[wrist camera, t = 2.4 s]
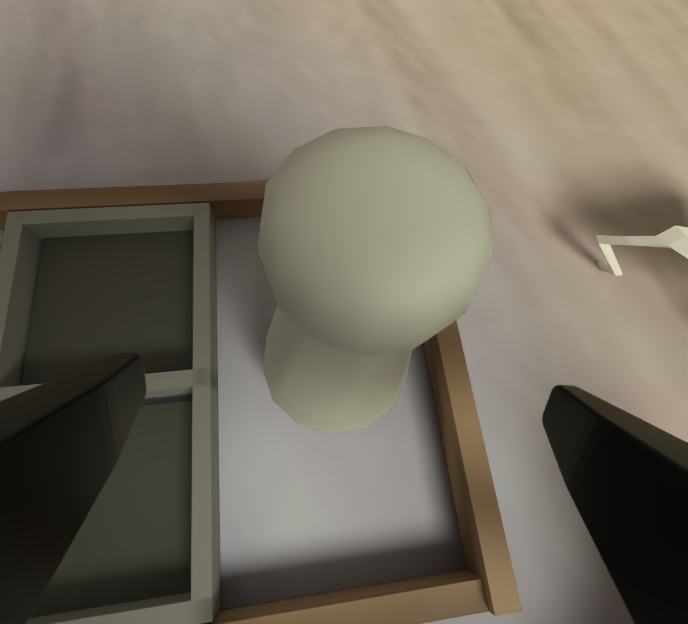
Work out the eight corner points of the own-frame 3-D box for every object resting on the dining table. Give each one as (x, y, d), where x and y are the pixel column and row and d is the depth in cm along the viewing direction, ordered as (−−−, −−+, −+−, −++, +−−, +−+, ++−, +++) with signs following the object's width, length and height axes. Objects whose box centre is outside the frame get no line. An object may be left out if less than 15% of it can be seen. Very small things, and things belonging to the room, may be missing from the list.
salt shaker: (241, 373, 18) (117, 190, 6) (328, 289, 20) (363, 21, 8) (337, 467, 17) (414, 468, 5) (419, 369, 19) (619, 201, 7)
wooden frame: (497, 594, 16) (522, 611, 14) (-438, 760, 12) (-570, 812, 10) (412, 193, 23) (421, 168, 21) (-218, 221, 19) (-275, 195, 17)
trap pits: (220, 607, 15) (212, 621, 14) (-42, 651, 14) (-80, 671, 13) (215, 220, 21) (209, 202, 19) (28, 229, 20) (7, 211, 18)
